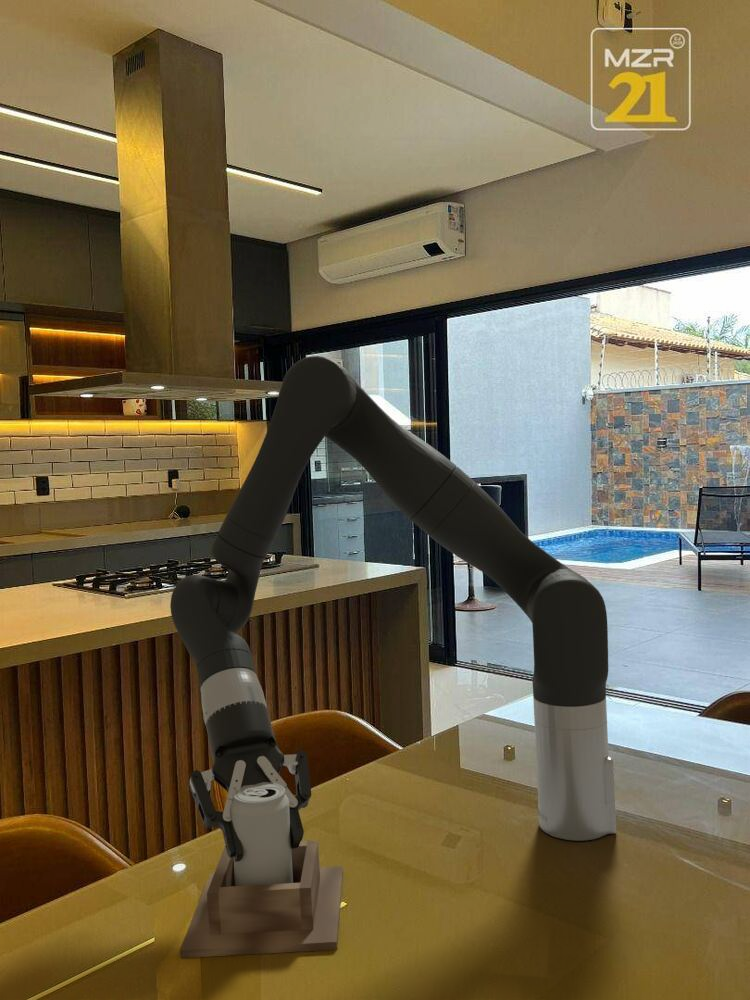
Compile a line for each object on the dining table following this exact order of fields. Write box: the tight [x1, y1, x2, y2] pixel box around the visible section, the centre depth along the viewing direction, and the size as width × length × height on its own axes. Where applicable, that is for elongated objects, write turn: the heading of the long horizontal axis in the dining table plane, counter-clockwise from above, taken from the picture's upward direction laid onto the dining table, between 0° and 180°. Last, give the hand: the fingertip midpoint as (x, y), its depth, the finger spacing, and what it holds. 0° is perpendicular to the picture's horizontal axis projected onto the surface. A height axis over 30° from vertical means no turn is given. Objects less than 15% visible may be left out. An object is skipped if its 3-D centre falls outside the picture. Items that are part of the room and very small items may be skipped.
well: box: [179, 840, 344, 959], centre depth 96 cm, size 16×16×5 cm
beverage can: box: [231, 782, 293, 886], centre depth 96 cm, size 6×6×12 cm
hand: (268, 851), depth 94 cm, fingers closed on beverage can, 5 cm apart
